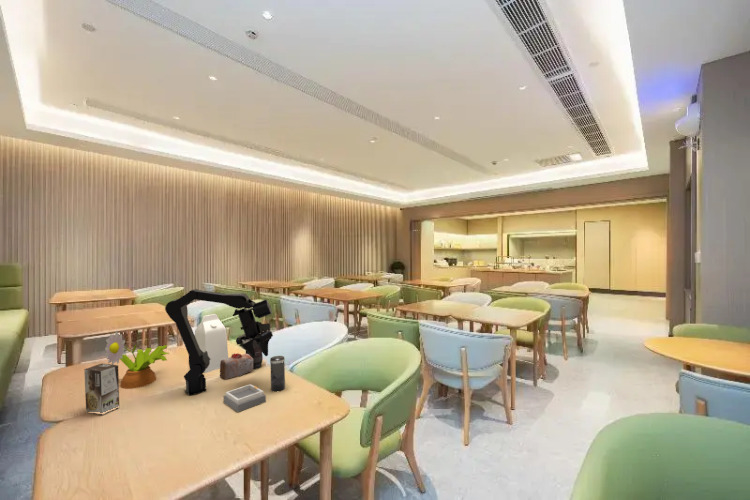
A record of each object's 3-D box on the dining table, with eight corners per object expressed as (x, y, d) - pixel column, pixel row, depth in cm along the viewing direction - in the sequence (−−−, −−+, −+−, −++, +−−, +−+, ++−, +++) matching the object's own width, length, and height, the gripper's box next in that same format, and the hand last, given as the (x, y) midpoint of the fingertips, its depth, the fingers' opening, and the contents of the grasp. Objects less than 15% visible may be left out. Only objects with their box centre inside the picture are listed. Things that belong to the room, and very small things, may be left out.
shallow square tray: (237, 412, 123) (237, 400, 122) (223, 402, 131) (223, 391, 131) (265, 401, 131) (265, 390, 131) (250, 392, 139) (250, 382, 139)
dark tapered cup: (275, 393, 138) (274, 361, 138) (268, 389, 142) (267, 358, 142) (287, 388, 142) (287, 357, 142) (280, 384, 146) (279, 354, 146)
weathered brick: (246, 368, 167) (246, 348, 167) (254, 372, 162) (254, 351, 161) (218, 377, 157) (217, 355, 157) (226, 381, 151) (225, 359, 151)
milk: (216, 361, 178) (215, 311, 178) (228, 365, 171) (227, 314, 171) (193, 368, 168) (191, 315, 168) (205, 373, 162) (203, 318, 161)
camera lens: (265, 364, 172) (265, 334, 172) (258, 370, 164) (257, 339, 164) (250, 364, 173) (249, 334, 173) (242, 369, 165) (241, 339, 165)
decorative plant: (93, 388, 146) (91, 330, 146) (149, 368, 168) (147, 318, 168) (135, 397, 136) (133, 335, 136) (188, 375, 158) (187, 322, 158)
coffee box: (120, 407, 128) (119, 365, 127) (101, 416, 122) (100, 371, 121) (103, 404, 131) (102, 362, 130) (84, 412, 125) (83, 368, 124)
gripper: (276, 312, 146) (288, 346, 147) (251, 316, 157) (262, 348, 158) (255, 323, 137) (267, 359, 138) (230, 326, 148) (242, 360, 149)
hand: (260, 356), depth 146 cm, fingers open, 9 cm apart
